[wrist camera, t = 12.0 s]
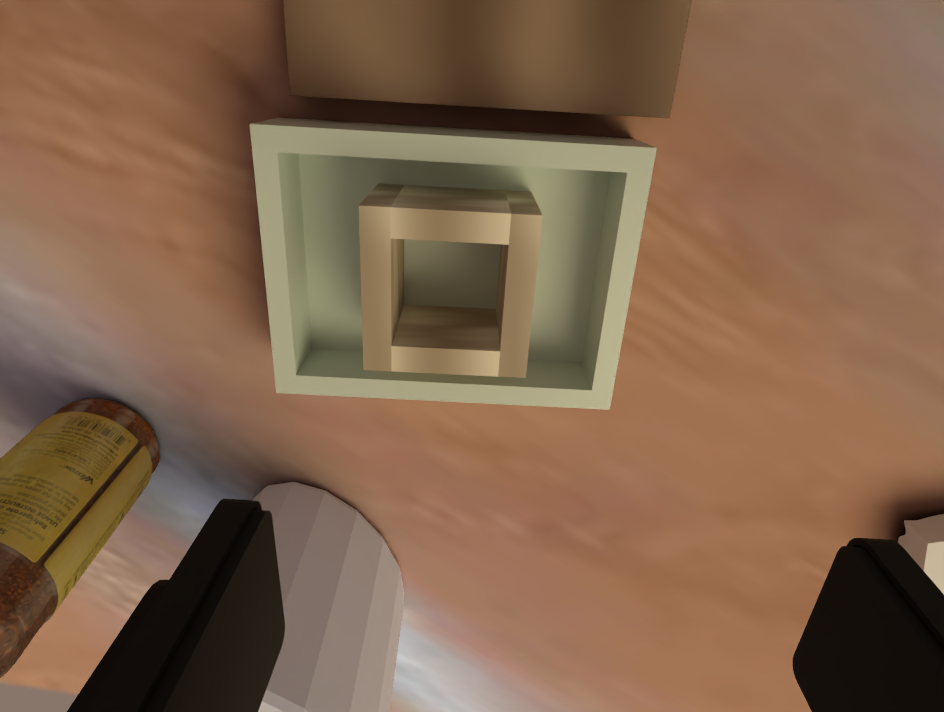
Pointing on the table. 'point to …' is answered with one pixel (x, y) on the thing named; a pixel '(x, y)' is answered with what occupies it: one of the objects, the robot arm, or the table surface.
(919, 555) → the cream wavy-edged slab
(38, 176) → the table surface
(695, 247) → the table surface
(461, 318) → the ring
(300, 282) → the tray
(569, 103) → the stake board
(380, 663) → the soap bottle
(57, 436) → the sauce bottle
